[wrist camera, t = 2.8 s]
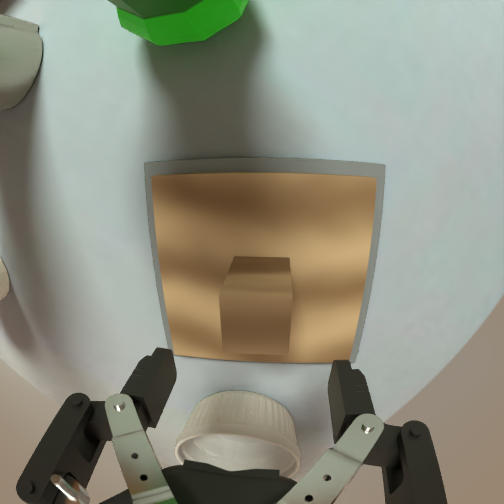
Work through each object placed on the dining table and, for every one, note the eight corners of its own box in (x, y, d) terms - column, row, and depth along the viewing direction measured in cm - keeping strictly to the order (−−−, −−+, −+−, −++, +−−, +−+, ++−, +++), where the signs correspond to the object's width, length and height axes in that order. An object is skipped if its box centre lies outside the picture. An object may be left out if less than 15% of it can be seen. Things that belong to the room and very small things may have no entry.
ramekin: (315, 432, 30) (318, 477, 24) (224, 450, 34) (216, 490, 27) (270, 366, 27) (267, 422, 20) (166, 394, 30) (148, 439, 23)
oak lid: (156, 174, 21) (107, 189, 14) (372, 176, 19) (412, 192, 13) (177, 348, 26) (153, 400, 20) (347, 355, 25) (361, 411, 18)
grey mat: (146, 162, 21) (144, 163, 20) (383, 164, 19) (385, 164, 19) (171, 351, 27) (169, 354, 27) (354, 359, 26) (355, 362, 25)
